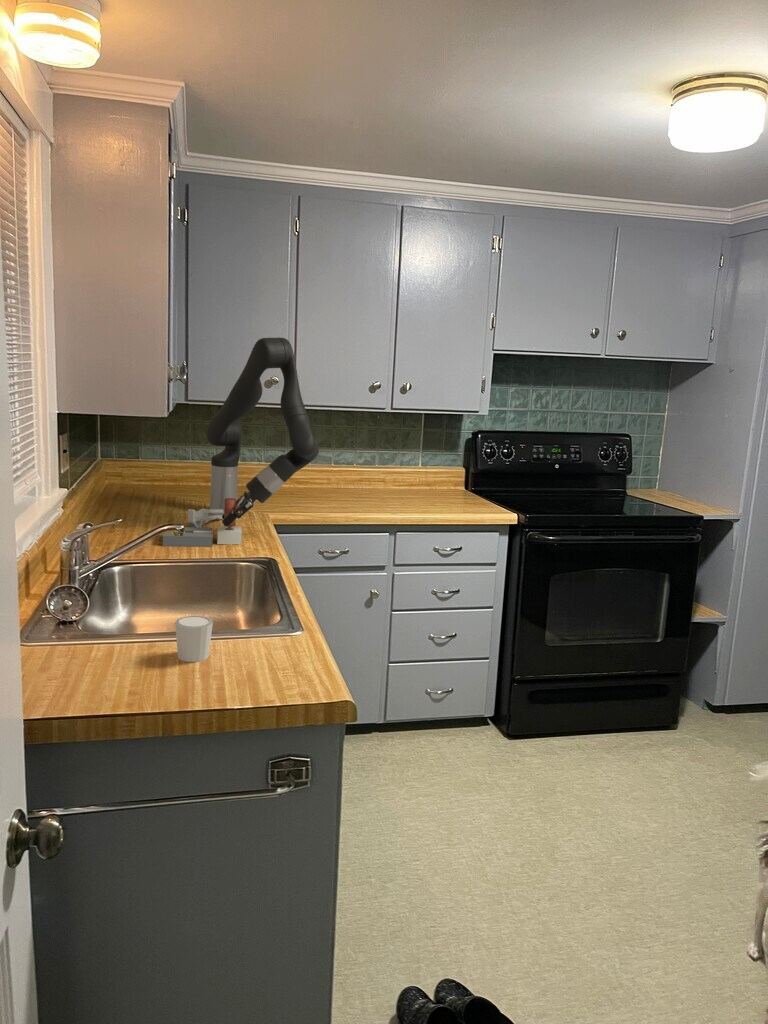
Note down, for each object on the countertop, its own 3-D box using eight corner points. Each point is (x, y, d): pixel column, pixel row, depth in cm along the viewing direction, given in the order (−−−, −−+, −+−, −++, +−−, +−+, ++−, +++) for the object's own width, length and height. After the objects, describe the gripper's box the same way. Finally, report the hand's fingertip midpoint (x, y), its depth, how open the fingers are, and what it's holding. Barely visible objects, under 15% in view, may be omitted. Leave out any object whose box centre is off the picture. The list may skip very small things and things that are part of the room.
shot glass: (182, 666, 141) (183, 629, 140) (168, 653, 146) (169, 618, 145) (217, 659, 145) (218, 624, 144) (203, 647, 150) (204, 613, 149)
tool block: (217, 539, 235) (217, 526, 234) (240, 539, 237) (240, 526, 236) (217, 544, 228) (217, 531, 228) (241, 545, 230) (241, 532, 229)
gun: (185, 533, 234) (188, 508, 234) (217, 530, 264) (219, 507, 264) (191, 534, 234) (194, 509, 234) (223, 530, 263) (225, 508, 263)
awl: (223, 540, 234) (224, 498, 231) (234, 540, 235) (236, 498, 232) (223, 543, 231) (224, 500, 228) (235, 543, 231) (236, 500, 229)
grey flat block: (164, 536, 234) (165, 526, 233) (212, 537, 237) (212, 527, 237) (162, 546, 223) (162, 535, 222) (212, 546, 226) (212, 536, 225)
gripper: (255, 471, 237) (214, 507, 237) (258, 479, 223) (215, 518, 223) (271, 488, 239) (231, 525, 239) (275, 497, 226) (233, 536, 225)
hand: (224, 521), depth 231 cm, fingers open, 6 cm apart
